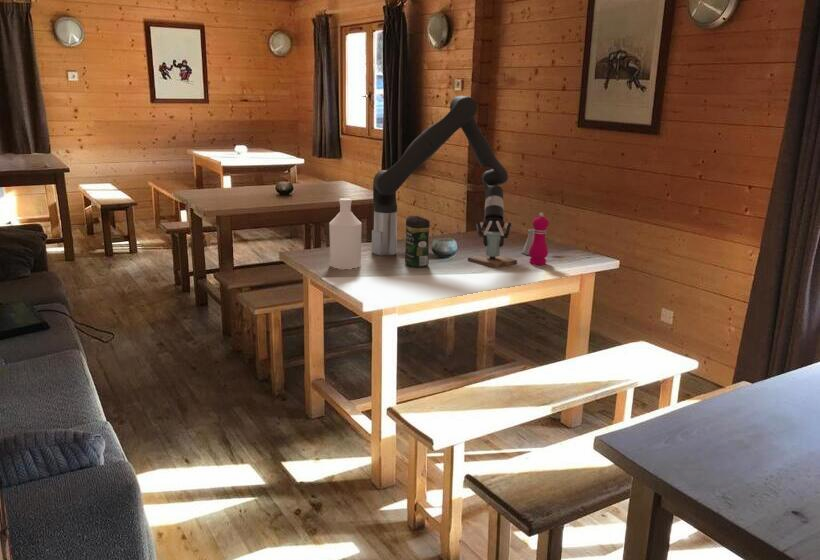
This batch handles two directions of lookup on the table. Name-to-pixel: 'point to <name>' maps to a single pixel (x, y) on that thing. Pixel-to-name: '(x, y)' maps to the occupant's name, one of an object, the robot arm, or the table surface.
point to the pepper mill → (539, 241)
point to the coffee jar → (417, 241)
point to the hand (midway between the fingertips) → (493, 245)
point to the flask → (528, 242)
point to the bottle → (345, 238)
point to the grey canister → (493, 243)
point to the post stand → (492, 260)
